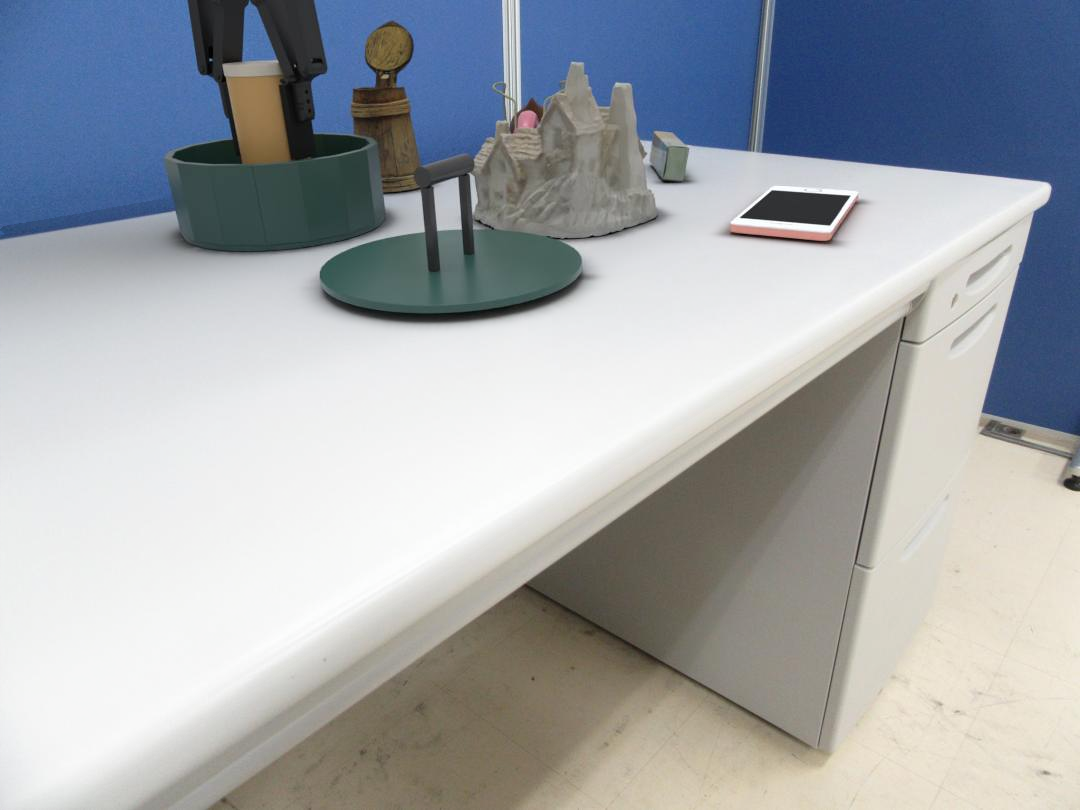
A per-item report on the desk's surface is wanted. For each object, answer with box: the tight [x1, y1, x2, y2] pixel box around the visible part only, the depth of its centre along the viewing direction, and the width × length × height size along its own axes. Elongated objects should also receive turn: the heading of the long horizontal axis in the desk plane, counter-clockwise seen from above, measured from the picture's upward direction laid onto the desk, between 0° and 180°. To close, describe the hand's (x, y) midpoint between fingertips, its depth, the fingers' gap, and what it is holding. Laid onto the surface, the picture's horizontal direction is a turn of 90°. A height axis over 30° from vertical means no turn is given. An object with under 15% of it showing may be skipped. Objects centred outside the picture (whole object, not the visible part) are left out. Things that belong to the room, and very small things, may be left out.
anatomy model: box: [491, 80, 566, 134], centre depth 100 cm, size 10×14×15 cm
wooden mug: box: [350, 20, 422, 194], centre depth 94 cm, size 9×14×18 cm, turn 175°
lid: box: [318, 153, 583, 314], centre depth 60 cm, size 20×20×9 cm
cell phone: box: [729, 185, 860, 242], centre depth 77 cm, size 9×18×1 cm, turn 153°
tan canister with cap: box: [222, 59, 311, 164], centre depth 75 cm, size 7×7×10 cm
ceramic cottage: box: [469, 61, 658, 240], centre depth 76 cm, size 16×16×15 cm
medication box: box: [649, 130, 690, 183], centre depth 98 cm, size 12×3×4 cm, turn 1°
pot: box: [163, 132, 387, 252], centre depth 78 cm, size 19×19×8 cm
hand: (276, 155), depth 76 cm, fingers closed on tan canister with cap, 6 cm apart
